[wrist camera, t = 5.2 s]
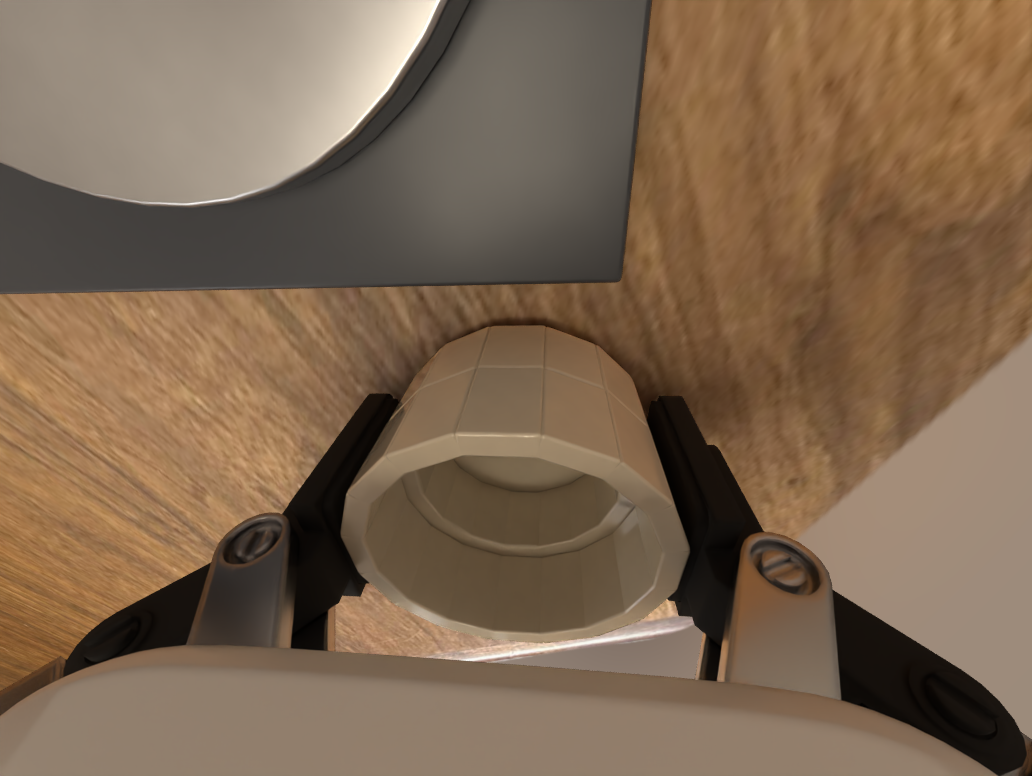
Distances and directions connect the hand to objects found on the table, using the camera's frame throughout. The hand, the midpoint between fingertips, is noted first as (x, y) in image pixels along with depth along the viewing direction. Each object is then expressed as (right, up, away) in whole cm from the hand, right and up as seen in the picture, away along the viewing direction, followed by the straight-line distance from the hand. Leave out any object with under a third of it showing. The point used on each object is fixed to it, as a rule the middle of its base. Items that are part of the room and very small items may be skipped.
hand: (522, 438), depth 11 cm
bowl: (0, 0, +1) cm, 1 cm away
